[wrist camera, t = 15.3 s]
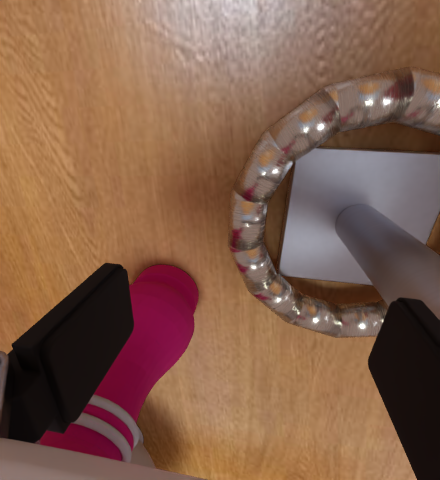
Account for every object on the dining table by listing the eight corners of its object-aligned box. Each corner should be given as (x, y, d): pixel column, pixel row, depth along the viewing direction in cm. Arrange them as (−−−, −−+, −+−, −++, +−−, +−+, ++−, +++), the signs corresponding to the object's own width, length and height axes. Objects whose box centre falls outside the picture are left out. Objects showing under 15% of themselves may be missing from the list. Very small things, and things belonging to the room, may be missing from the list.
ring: (579, 74, 14) (646, 63, 11) (440, 335, 21) (462, 361, 19) (239, 69, 16) (235, 59, 13) (225, 309, 23) (222, 330, 21)
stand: (447, 152, 17) (821, 208, 6) (398, 279, 21) (557, 455, 10) (294, 145, 18) (354, 179, 7) (276, 266, 22) (294, 412, 11)
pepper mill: (209, 269, 23) (40, 766, 5) (198, 327, 26) (66, 766, 8) (133, 251, 24) (-271, 661, 6) (131, 310, 27) (-134, 698, 9)
